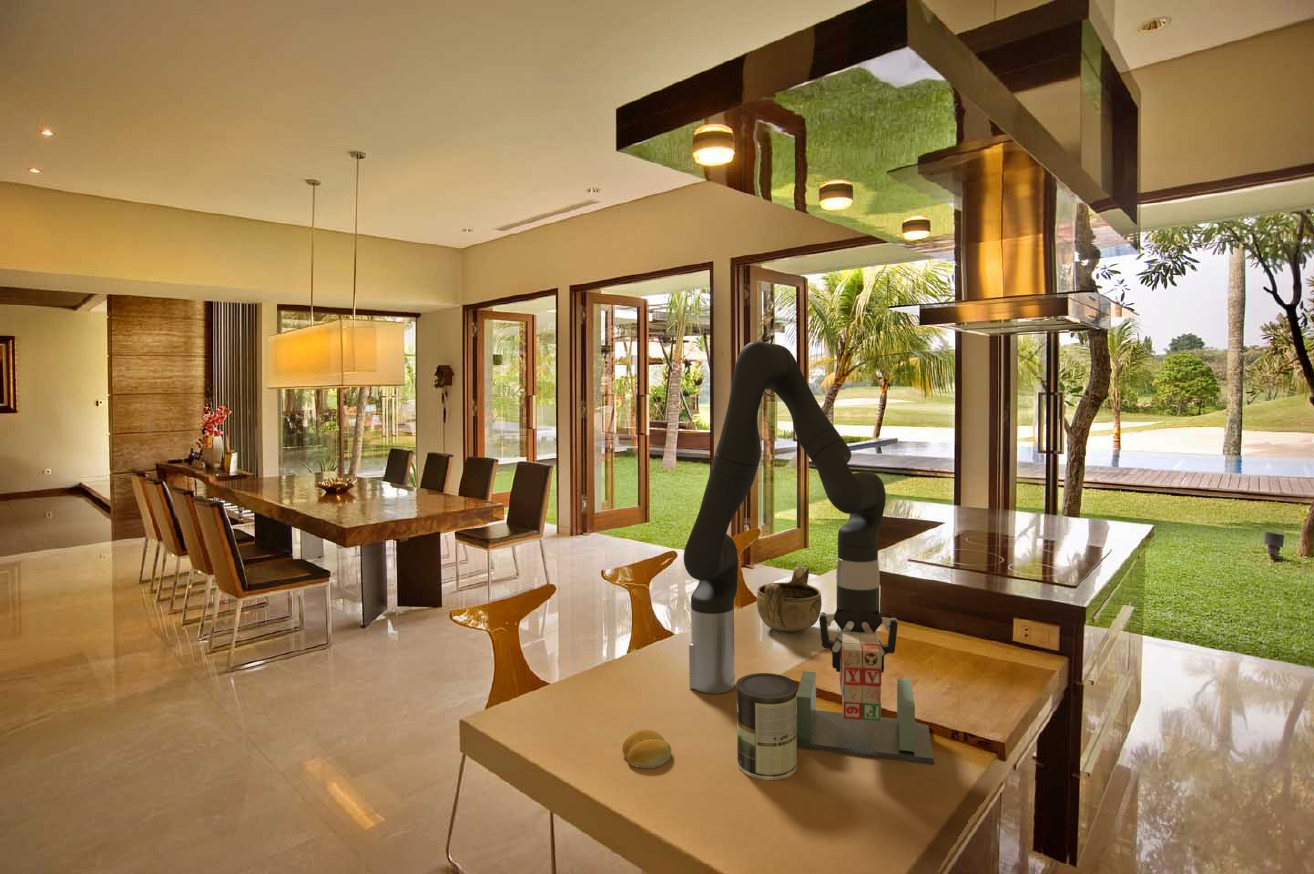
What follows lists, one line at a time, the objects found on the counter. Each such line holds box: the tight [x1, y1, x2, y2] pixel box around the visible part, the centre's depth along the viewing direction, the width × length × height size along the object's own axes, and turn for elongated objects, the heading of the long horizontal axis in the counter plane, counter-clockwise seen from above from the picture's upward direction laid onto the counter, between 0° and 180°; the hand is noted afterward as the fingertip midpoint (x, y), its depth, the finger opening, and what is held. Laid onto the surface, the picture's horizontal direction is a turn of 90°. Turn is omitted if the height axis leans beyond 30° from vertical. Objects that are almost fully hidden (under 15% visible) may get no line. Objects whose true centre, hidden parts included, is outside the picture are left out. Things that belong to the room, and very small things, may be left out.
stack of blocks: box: [837, 625, 883, 721], centre depth 133 cm, size 21×6×12 cm, turn 169°
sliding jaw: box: [896, 677, 916, 752], centre depth 130 cm, size 2×12×8 cm, turn 164°
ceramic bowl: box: [756, 565, 823, 635], centre depth 191 cm, size 22×17×15 cm
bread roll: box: [621, 729, 672, 769], centre depth 127 cm, size 8×9×4 cm
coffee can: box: [735, 672, 798, 781], centre depth 123 cm, size 10×10×14 cm
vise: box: [796, 670, 935, 765], centre depth 133 cm, size 24×14×9 cm, turn 74°
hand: (858, 671), depth 132 cm, fingers closed on stack of blocks, 6 cm apart
